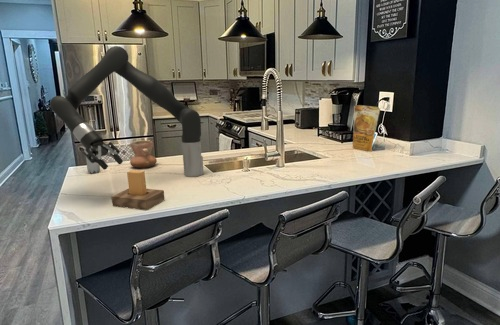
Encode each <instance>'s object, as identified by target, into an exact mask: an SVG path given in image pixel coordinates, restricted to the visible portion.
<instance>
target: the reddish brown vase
mask: <svg viewBox="0 0 500 325" xmlns="http://www.w3.org/2000/svg"><path fill="white" fill-rule="evenodd" d="M129 144H130V147H131V150H132V152H133V154H134V156H133V157H132V158H131V159H130V161H129V163H130V166H132V167H133V168H136V169H146V168H151V167H153V166H155V164H157V158H156V157H155V155H152V154H151V152H152V150H153V144H154V142H153V141H152V140H135V141H131V142H130V143H129Z"/></svg>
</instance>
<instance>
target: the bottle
mask: <svg viewBox="0 0 500 325" xmlns="http://www.w3.org/2000/svg"><path fill="white" fill-rule="evenodd" d="M85 149H86V148H85V147H84V146H83V150H84V151H85ZM84 151H83V152H84ZM91 158H92V157H91ZM85 159H86V160H85V161H86V168H87V170H86V171H87V172H88V173H89V174H94V173H95V174H97V173H100V171H101V166H100V165H99V164H98V163H96V162H94V163H91V162H90V160H89V159H88V158H87V157H86V156H85ZM92 159H93V158H92Z"/></svg>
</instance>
